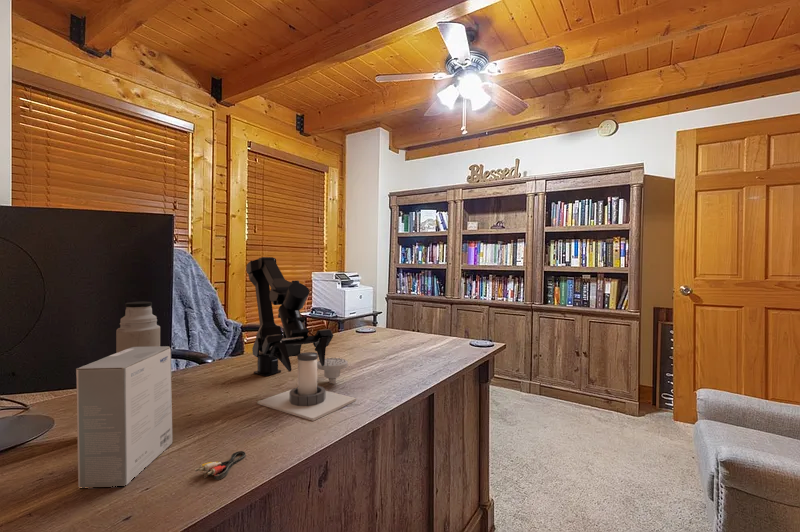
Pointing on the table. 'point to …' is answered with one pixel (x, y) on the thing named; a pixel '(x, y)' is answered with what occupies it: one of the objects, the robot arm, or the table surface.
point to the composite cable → (220, 466)
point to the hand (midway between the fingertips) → (307, 368)
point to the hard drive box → (123, 415)
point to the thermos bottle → (137, 327)
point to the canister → (307, 373)
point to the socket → (307, 403)
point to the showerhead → (332, 368)
